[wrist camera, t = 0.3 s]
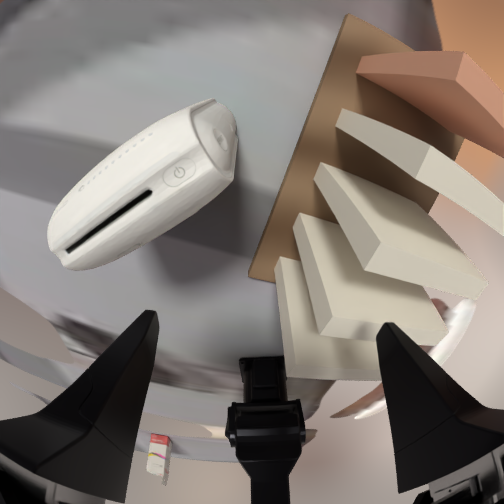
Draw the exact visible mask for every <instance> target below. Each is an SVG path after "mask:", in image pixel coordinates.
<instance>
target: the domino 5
mask: <svg viewBox="0 0 504 504" xmlns="http://www.w3.org/2000/svg"><path fill="white" fill-rule="evenodd" d="M356 74H358V75H360V76H362V77H364V78H366V79H368V80H370V81H372V82H374V83H376V84H378V85H379V86H381V87H383V88H385V89H387V90H388V91H390V92H392V93H394V94H395V95H397V96H399V97H400V98H402V99H403V100H405V101H407V102H408V103H410V104H411V105H413V106H415V107H416V108H418V109H419V110H421V111H422V112H424V113H425V114H426V115H428V116H429V117H431V118H432V119H434V120H435V121H436V122H438V123H439V124H440V125H442V126H443V127H444V128H446V129H447V130H448V131H450V132H452V133H454V134H457V135H459V136H461V137H463V138H466V139H468V140H470V141H472V142H474V143H476V144H478V145H480V146H482V147H484V148H486V149H488V150H490V151H492V152H494V153H496V154H497V155H499V156H501V157H503V158H504V93H503V92H502V91H501V90H500V88H499V87H498V86H497V85H496V84H495V83H494V81H492V79H491V78H490V77H489V76H488V75H487V74H486V73H485V72H484V71H483V70H482V69H481V68H480V67H479V66H478V65H477V64H476V63H475V62H474V61H473V60H472V59H471V58H470V57H469V56H468V55H467V54H466V53H465V52H458V51H416V52H399V53H388V54H378V55H370V56H362V58H361V61H360V63H359V66H358V69H357V71H356Z"/></svg>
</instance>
